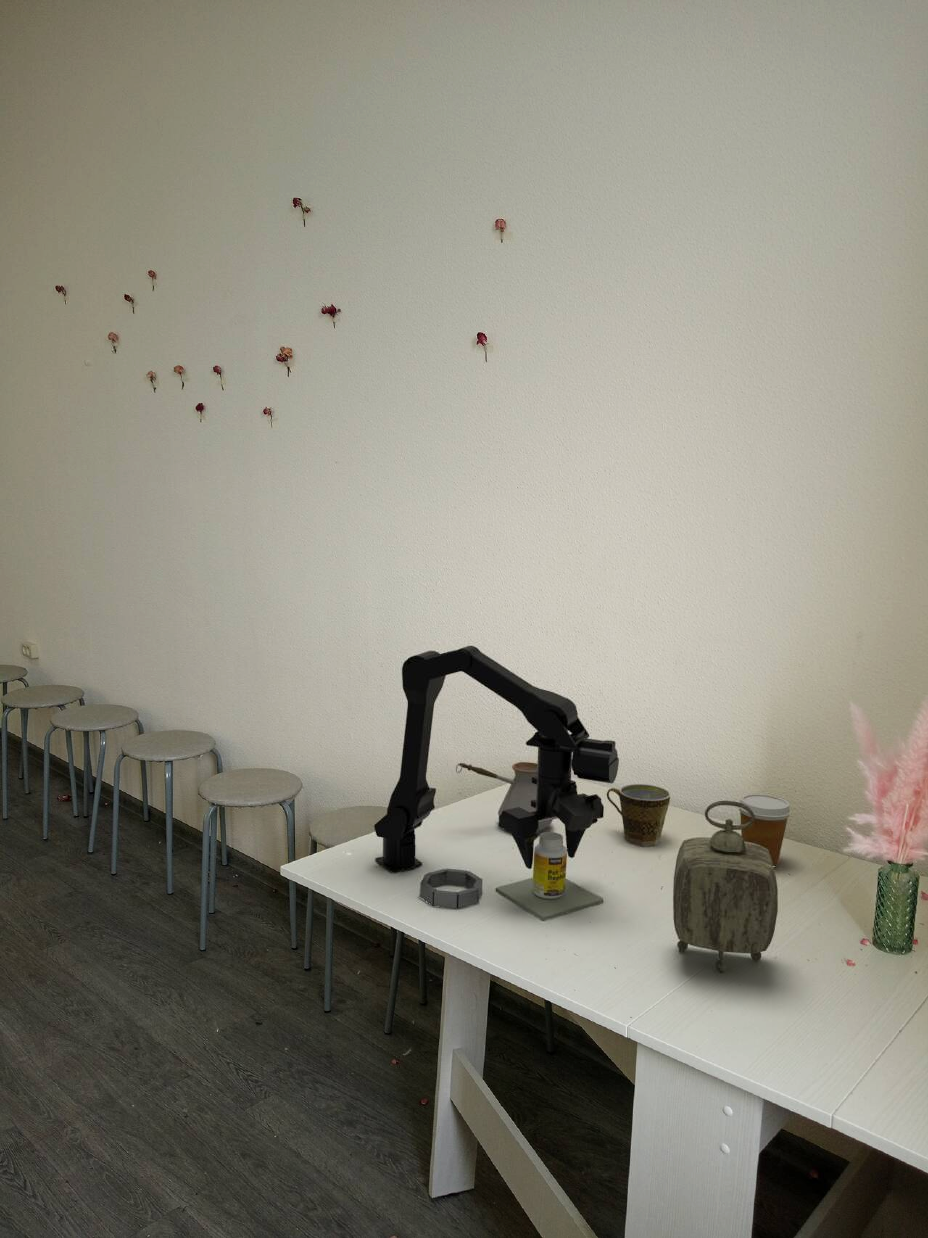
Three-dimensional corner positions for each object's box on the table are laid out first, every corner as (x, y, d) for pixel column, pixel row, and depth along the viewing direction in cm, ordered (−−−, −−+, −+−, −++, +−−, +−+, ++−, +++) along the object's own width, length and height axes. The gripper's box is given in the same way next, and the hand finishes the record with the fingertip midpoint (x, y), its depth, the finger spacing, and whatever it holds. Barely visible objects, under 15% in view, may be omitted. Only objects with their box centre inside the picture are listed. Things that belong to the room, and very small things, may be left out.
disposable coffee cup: (731, 867, 175) (735, 805, 173) (736, 849, 184) (741, 790, 182) (784, 876, 171) (790, 813, 170) (788, 858, 180) (793, 797, 178)
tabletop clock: (767, 957, 141) (780, 797, 138) (773, 987, 133) (786, 818, 129) (669, 944, 145) (679, 787, 141) (668, 973, 136) (678, 807, 132)
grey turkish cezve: (537, 815, 200) (540, 746, 198) (563, 834, 189) (567, 761, 187) (444, 826, 192) (446, 755, 189) (466, 846, 181) (468, 771, 179)
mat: (495, 891, 162) (495, 887, 162) (553, 875, 169) (554, 872, 169) (543, 920, 151) (543, 917, 151) (603, 902, 158) (603, 899, 158)
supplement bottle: (545, 903, 156) (548, 844, 155) (525, 890, 161) (528, 833, 159) (571, 896, 159) (574, 838, 158) (551, 883, 164) (553, 827, 162)
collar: (410, 890, 161) (411, 877, 161) (459, 878, 166) (459, 865, 166) (442, 913, 153) (442, 899, 152) (492, 899, 158) (492, 885, 158)
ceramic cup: (674, 838, 189) (677, 790, 187) (656, 854, 180) (659, 803, 179) (614, 824, 195) (617, 778, 194) (594, 838, 187) (597, 790, 186)
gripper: (540, 796, 145) (536, 892, 147) (628, 778, 156) (623, 868, 158) (498, 777, 154) (494, 867, 157) (583, 761, 165) (579, 846, 167)
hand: (550, 862), depth 159 cm, fingers open, 9 cm apart
